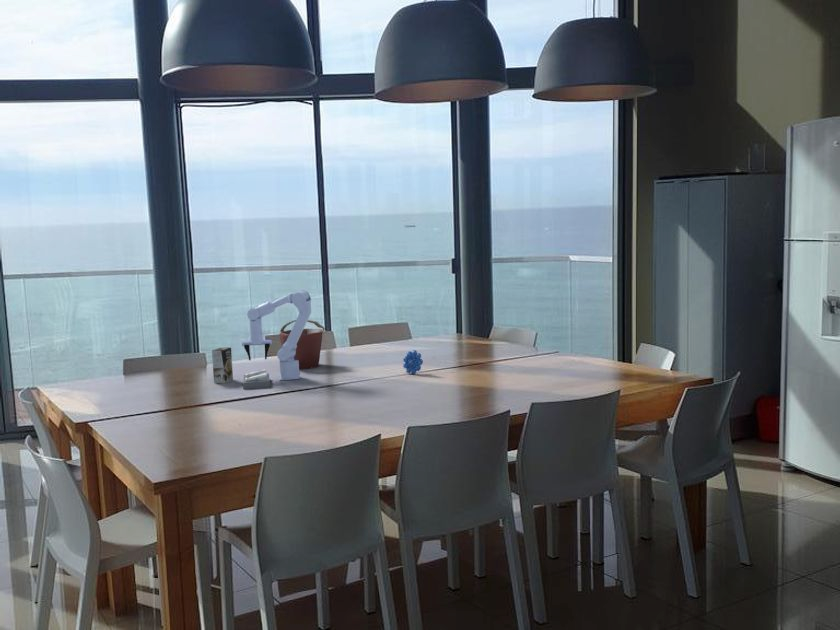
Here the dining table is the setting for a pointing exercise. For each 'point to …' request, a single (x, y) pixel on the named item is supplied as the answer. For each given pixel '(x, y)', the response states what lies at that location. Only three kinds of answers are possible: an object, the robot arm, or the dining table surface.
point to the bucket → (306, 345)
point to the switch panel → (256, 382)
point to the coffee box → (222, 365)
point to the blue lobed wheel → (412, 362)
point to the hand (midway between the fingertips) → (257, 359)
